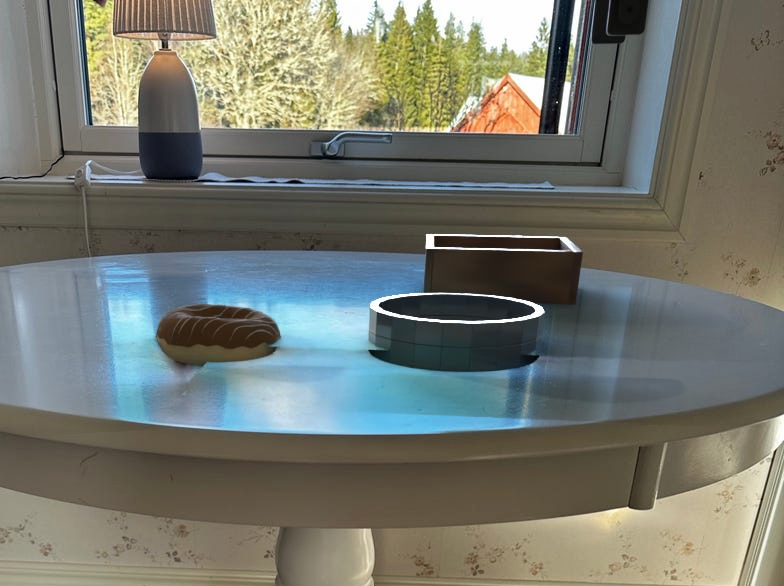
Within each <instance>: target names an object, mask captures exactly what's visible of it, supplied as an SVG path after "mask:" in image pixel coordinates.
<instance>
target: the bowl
mask: <svg viewBox="0 0 784 586" xmlns="http://www.w3.org/2000/svg"><path fill="white" fill-rule="evenodd" d="M368 315H369V318H368V319H369V320H368V341H369V342H370V343H371V344H372V345H374V346H375V347H377V348H380V349H367V351H368V353H369V354H370V355H371V357H373V358H375V359H377V360H379V361H381V362H385V363H388V364H390V365H391V364H392V365H395V366H399V367H405V368H410V369H416V370H424V371H437V372H449V373H450V372H451V373H452V372H453V373H484V372H485V373H486V372H499V371H508V370H514V369H519V368H524V367H526V366H530V365H532V364H534V363H536V362H537V361H538V359H539V358H540V354H530V353H534V352H535V351H537V350H538V349H540V347H541V346H542V339H543V331H544V322H545V315H546V311H545V310H544V308H543V307H542V306H540V305H538V304H537V303H531V302H527V301H522V300H518V299H513V298H506V297H499V296H491V295H479V294H462V293H423V292H422V293H421V292H420V293H419V292H418V293H409V294H398V295H392V296H386V297H381V298H378V299H376V300H374V301H371V303H370V306H369V314H368Z"/></svg>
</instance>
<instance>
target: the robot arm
mask: <svg viewBox="0 0 784 586" xmlns="http://www.w3.org/2000/svg"><path fill="white" fill-rule="evenodd" d="M649 1H650V0H594V4H593V13H592V21H591V23H592V24H591V30H590V31H591V33H590V43H591V44H592V45H621V44H623V43H624V42H626V38H627V36H640V35H642V34H644V32H645V30H646V22H647V15H648V9H649Z"/></svg>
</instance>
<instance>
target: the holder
mask: <svg viewBox="0 0 784 586" xmlns="http://www.w3.org/2000/svg"><path fill="white" fill-rule="evenodd" d="M425 239H426V241H425V255H424V268H423V269H424V272H423V288H422V289H423V290H422V293H462V294H479V295H491V296H499V297H506V298H513V299H518V300H522V301H527V302H531V303H533V304H536V305H538V304H541V305H544V304H545V305H574V306H575V305H577V298H578V292H579V291H578V290H579V286H580V285H579V284H580V278H581V277H580V276H581V268H582V263H583V257H584V256H583V254H584V251H582V249H580V248H579V247H578V246H577V245H576V244H575V243H573V242H572V241H571V240H570V239H569V238H568V237H567V236H529V235H527V236H526V235H524V236H523V235H485V234H484V235H483V234H482V235H481V234H480V235H479V234H478V235H477V234H440V233H439V234H438V233H437V234H436V233H435V234H432V233H431V234H429V233H427V234H426V238H425Z"/></svg>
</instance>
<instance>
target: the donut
mask: <svg viewBox="0 0 784 586" xmlns="http://www.w3.org/2000/svg"><path fill="white" fill-rule="evenodd" d="M155 337H156V339H157V341H158V342H157V344H158V346H159V349H160V350H161V351H162V352H163V354H164V355H166V356H167V358H169V359H172V361H176V362H178V363H181V364H185V365H189V366H195V367H204V366H205V365H206V364H207V363H234V362H244V361H252V360H258V359H262V358H265V357H268V356H271V355H273V354H274V353H275V352H276V351H277V349H278V346H273V345H272V344H274V343H276V342H278V341H279V340H280V339H281V338H282V336H281V331H280V328H279V325H278V323H277V321H276V320H275V319H274V318H272V317H271V316H270V315H268V314H266V313H265V312H263V311H261V310H256V309H253V308H250V307H245V306H243V307H242V306H235V305H227V304H212V303H211V304H210V303H197V304H191V305H180V306H178V307H175V308H174V309H172V310H170V311H168V312H167V313H166V314H164V315H163V316H162V317H161V319H160V320H159V322H158V325H157V329H156V333H155Z"/></svg>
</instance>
